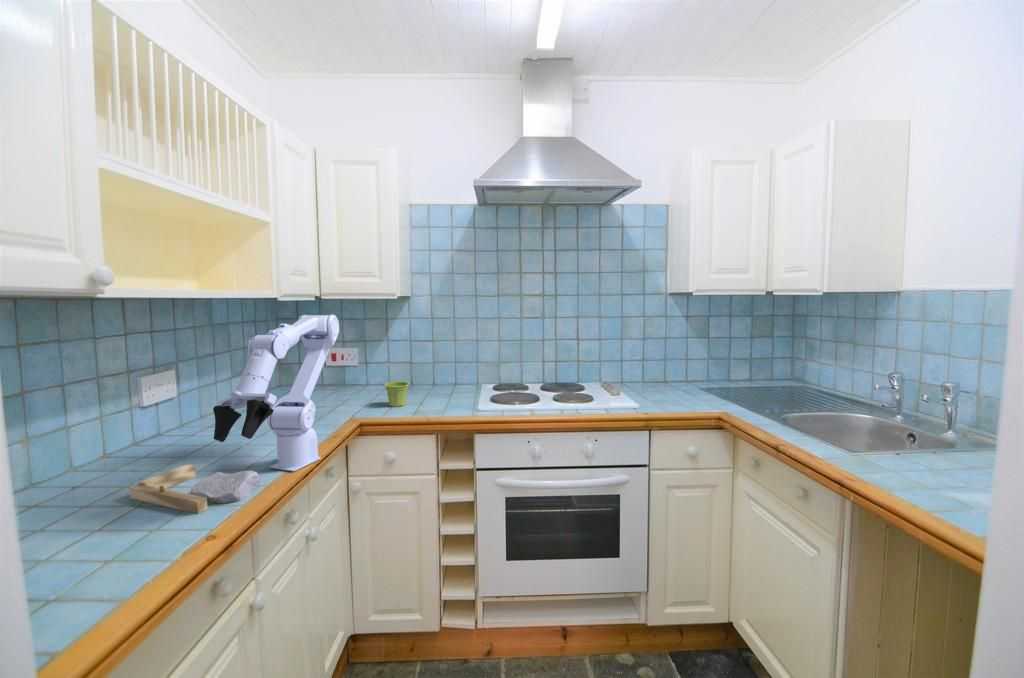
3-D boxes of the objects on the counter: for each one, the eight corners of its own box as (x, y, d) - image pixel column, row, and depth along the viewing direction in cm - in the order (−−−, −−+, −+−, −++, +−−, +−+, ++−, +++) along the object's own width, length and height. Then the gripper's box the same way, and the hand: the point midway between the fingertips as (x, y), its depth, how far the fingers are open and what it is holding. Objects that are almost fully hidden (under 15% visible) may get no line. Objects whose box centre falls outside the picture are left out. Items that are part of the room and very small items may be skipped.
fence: (189, 475, 111) (188, 461, 111) (253, 487, 104) (252, 472, 104) (130, 498, 99) (128, 482, 98) (198, 513, 92) (196, 496, 91)
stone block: (241, 511, 97) (264, 483, 106) (236, 492, 95) (260, 465, 105) (185, 514, 96) (213, 485, 106) (179, 495, 95) (208, 468, 105)
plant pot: (412, 402, 183) (412, 381, 182) (405, 408, 174) (404, 386, 173) (390, 402, 184) (389, 381, 183) (381, 408, 175) (380, 386, 174)
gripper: (215, 377, 100) (189, 435, 93) (266, 368, 96) (243, 428, 89) (241, 390, 106) (218, 446, 99) (290, 383, 102) (270, 440, 94)
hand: (232, 438), depth 94 cm, fingers open, 7 cm apart
